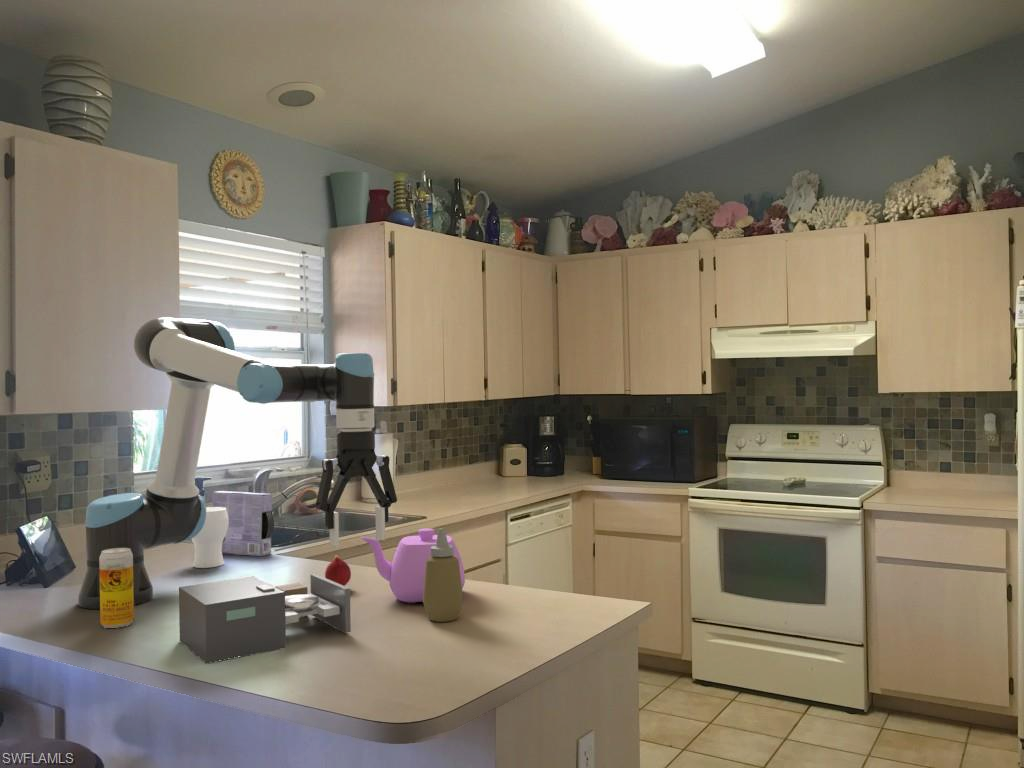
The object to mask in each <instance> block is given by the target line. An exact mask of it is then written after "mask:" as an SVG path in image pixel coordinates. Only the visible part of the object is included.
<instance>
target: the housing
mask: <svg viewBox="0 0 1024 768" xmlns="http://www.w3.org/2000/svg"><path fill="white" fill-rule="evenodd" d="M178 609H179V611H178V614H179V616H178V619H179V621H178V623H179V642H180V641H181V642H180V643H181V644H183V645H184V646H185V645H186V646H187V647H188V650H190V651H191V652H192V651H193V652H194V653H195V654H194V653H193V652H192V653H193V654H194V655H196V656H197V657H198V656H199V657H200V658H201V659H202V660H201V659H200V658H199V657H198V658H199V659H200V660H201V661H202V662H204V663H205V664H206V663H208V664H211V663H210V662H213V663H216V662H215V661H218V662H220V661H219V660H223V661H225V660H224V659H228V658H233V659H235V658H234V657H238V656H243V657H245V656H244V655H248V656H251V654H253V655H256V654H257V653H258V654H262V653H263V654H264V653H267V651H268V652H271V651H272V652H273V651H276V650H277V649H278V650H281V649H282V648H283V649H286V648H287V635H286V633H287V631H286V628H287V627H286V626H287V624H286V620H285V592H284V591H282V590H280V589H278V588H276V587H275V586H274V585H271V584H270V583H267V582H265V581H264V580H261V579H260V578H257V576H256V577H255V576H245V577H238V578H233V579H226V580H218V581H212V582H205V583H199V584H198V583H197V584H192V585H191V584H190V585H185V586H184V585H183V586H179V587H178ZM186 646H185V647H186ZM187 647H186V648H187ZM278 650H277V651H278ZM238 658H239V657H238ZM228 660H229V659H228Z"/></svg>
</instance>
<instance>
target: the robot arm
mask: <svg viewBox="0 0 1024 768" xmlns="http://www.w3.org/2000/svg"><path fill="white" fill-rule="evenodd" d="M235 347H236V346H235V342H234V339H233V336H232V335H231V333H230V331H229V329H228V328H227V327H226V325H224V324H222V323H221V322H218V321H213V320H209V319H201V318H198V319H197V318H181V317H180V318H178V317H169V316H167V317H165V316H164V317H157V318H154V319H151V320H148V321H146V322H145V323H144V324H143V325H142V326H140V327H139V329H137V332H136V334H135V336H134V340H133V348H134V349H133V350H134V353H135V355H136V357H137V359H138V360H139V361H140V362H141V363H142V364H144V365H145V366H146V367H149V368H151V369H154V370H157V371H160V372H163V373H166V376H167V377H168V378H169V379H170V381H171V385H170V390H169V396H168V404H167V408H166V413H165V414H166V415H165V419H164V426H163V434H162V438H161V445H160V449H159V450H160V451H159V457H158V461H157V468H156V475H155V479H154V480H152V481H151V482H150V483H148V484H147V486H146V492H145V497H144V496H143V495H142V494H141V493H139V492H123V493H119V494H118V493H117V494H111V495H107V496H102V497H100V498H96V499H95V500H93V501H91V502H90V503H89V504H88V505H87V507H86V510H85V511H86V512H85V521H84V525H85V538H86V539H85V541H86V542H85V543H86V544H85V545H86V546H85V547H86V549H85V550H86V571H85V573H84V577H83V580H82V583H81V586H80V589H79V591H78V592H79V593H78V600H77V601H78V603H77V604H78V606H79V607H80V608H84V609H89V610H100V568H99V557H100V555H101V552H102V551H103V550H107V549H113V548H130V549H131V552H132V554H133V594H134V606H135V605H140V604H142V603H146V602H147V601H150V600H152V599H153V598H154V588H153V584H152V582H151V579H150V576H149V573H148V571H147V567H146V565H145V554H144V553H145V551H144V550H145V549H150V548H156V547H161V546H165V545H166V546H167V545H172V544H180V543H183V542H184V541H189V540H191V539H192V538H193V537H195V536H196V535H197V534H198V533H199V532H200V531H201V529H202V528H203V525H204V523H205V519H206V506H205V504H206V502H205V499H204V498H203V497H202V496H201V494H200V489H199V488H198V486H197V485H196V484H195V480H196V473H197V468H198V462H199V457H200V449H201V445H202V441H203V434H204V429H205V428H204V427H205V422H206V416H207V412H208V411H207V410H208V404H209V400H210V394H211V388H212V387H213V386H215V385H217V386H219V387H222V388H225V389H228V390H231V391H234V392H237V393H238V394H239V395H240V396H241V397H242V398H243V399H244V401H246V402H249V403H257V404H263V405H265V404H269V403H270V404H272V403H292V402H293V403H294V402H295V403H297V402H298V403H299V402H301V403H303V402H306V403H309V402H311V403H313V402H329V401H335V411H336V417H335V418H336V419H335V421H336V424H335V425H336V426H335V427H336V429H337V430H339V431H337V433H336V452H337V453H336V457H335V458H332V459H327V458H324V459H322V460H321V466H322V472H321V479H320V483H319V487H318V492H317V496H316V500H315V509H316V510H320V511H323V512H324V522H325V523H324V524H325V525H324V526H325V529H327V530H329V545H331V546H334V547H340V532H339V531H340V525H339V518H340V517H339V512H337V511H336V509H337V506H338V504H339V502H340V500H341V497H342V494H343V492H344V491H345V488H346V487H347V484H348V482H349V481H350V480H351V478H357V477H362V478H363V479H365V481H366V482H367V485H368V486H369V488H370V490H371V492H372V494H373V496H374V498H375V500H376V501H377V503H378V505H379V506H375V510H374V511H375V539H376V540H380V541H385V540H386V523H388V522H389V519H390V518H389V517H390V516H389V508H390V507H391V506H392V504H396V503H397V502H398V497H397V493H396V490H395V485H394V481H393V478H392V474H391V469H390V456H389V455H383V454H382V455H377V454H376V451H375V448H376V435H375V430H372V429H373V428H374V427H375V404H374V402H375V401H374V400H375V399H374V398H375V397H374V394H375V392H374V391H375V390H374V389H375V388H374V387H375V386H374V383H375V372H374V363H373V362H374V360H373V357H372V355H371V354H369V353H367V352H348V353H347V352H346V353H345V352H343V353H338V354H336V355H335V357H334V358H335V360H334V363H332V364H295V363H294V364H292V363H291V364H290V363H289V364H288V363H287V364H284V363H273V362H269V361H266V360H264V359H260V358H257V357H254V356H250V355H247V354H243V353H242V352H237V351H236V349H235ZM375 464H376V465H377V466H378V471H379V476H380V480H381V482H382V483H381V484H382V486H381V484H380V483H379V480H378V479H377V474H376V472H375V471H374V468H373V467H374V466H375ZM336 466H338V468H339V469H340V470H339V472H338V475H337V477H336V478H337V479H336V481H335V483H334V485H333V487H331V486H332V481H333V477H334V470H335V469H336ZM331 488H332V489H331ZM330 490H331V491H330Z"/></svg>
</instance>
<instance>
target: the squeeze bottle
mask: <svg viewBox="0 0 1024 768" xmlns="http://www.w3.org/2000/svg"><path fill="white" fill-rule="evenodd" d="M436 535H437V541H436V546H432V547H431V548H430V553H431V556H432V557H430V558H428V559H427V560H426V568H425V580H424V592H423V602H422V603H423V605H424V609H425V612H426V614H427V617H428V620H429V621H432V622H439V623H441V622H442V623H444V622H445V623H446V622H451V621H455V620H457V619H458V618H459V615H460V614H461V609H462V606H463V602H464V594H463V588H462V585H461V576H460V568H459V560H458V559H457V558H456V557H455V556H452V555H454V547H453V546H451V545H448V541H447V537H446V535H447V533H446V529H445V528H444V527H443V528H438V530H437V534H436Z"/></svg>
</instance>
